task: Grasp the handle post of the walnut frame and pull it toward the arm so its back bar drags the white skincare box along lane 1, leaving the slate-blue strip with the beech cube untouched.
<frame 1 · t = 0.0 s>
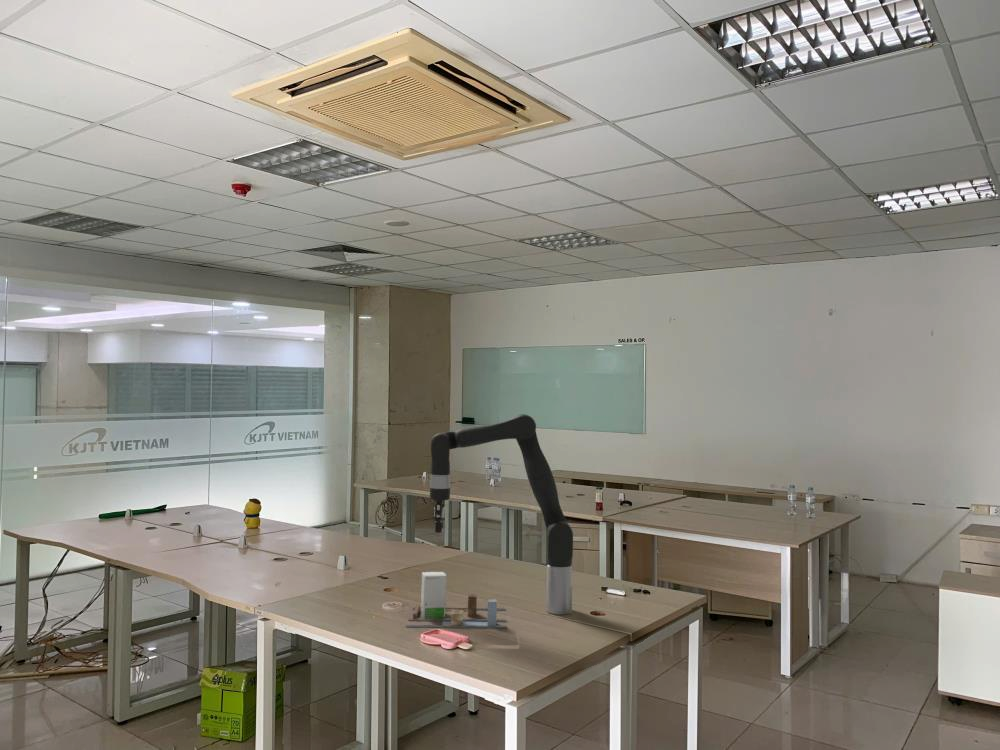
hand: (439, 530, 260), 29 cm above the table, fingers open, 8 cm apart
walnut frame: (445, 606, 250), point 4 cm above the table, slide at 0.0 cm
skincare box: (432, 618, 249), resting in walnut frame
guide rails: (457, 620, 246), on the table
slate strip: (469, 613, 240), point 4 cm above the table, slide at 0.0 cm, touching beech cube
beech cube: (456, 623, 239), point 1 cm above the table, touching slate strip
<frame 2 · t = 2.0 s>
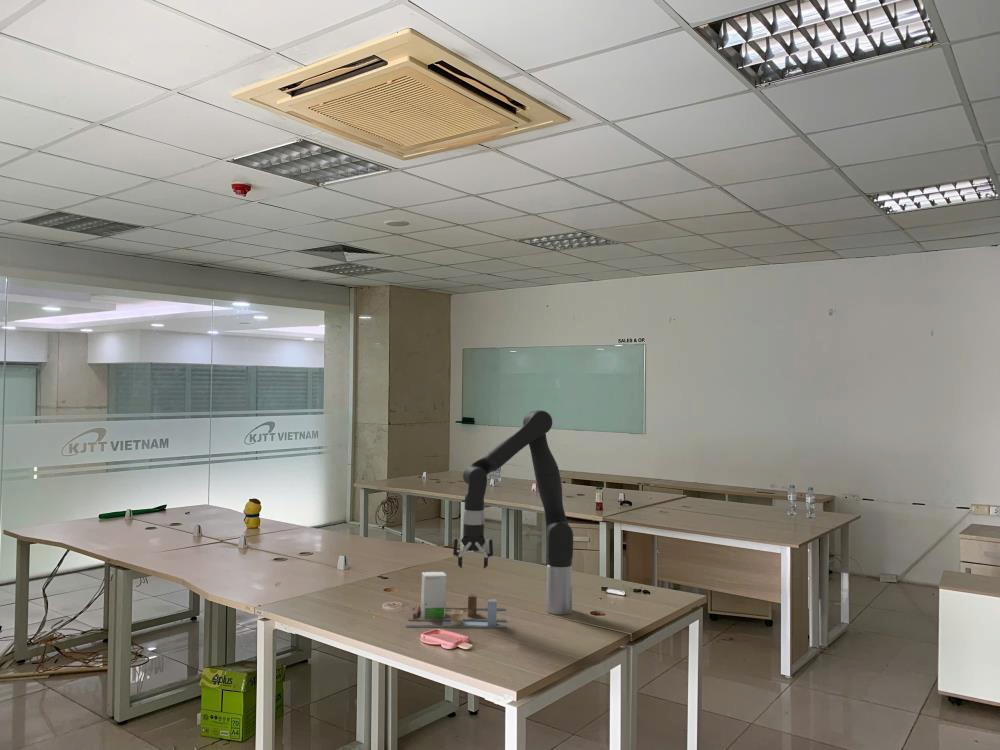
hand: (472, 567, 250), 18 cm above the table, fingers open, 8 cm apart
nothing on the table moved.
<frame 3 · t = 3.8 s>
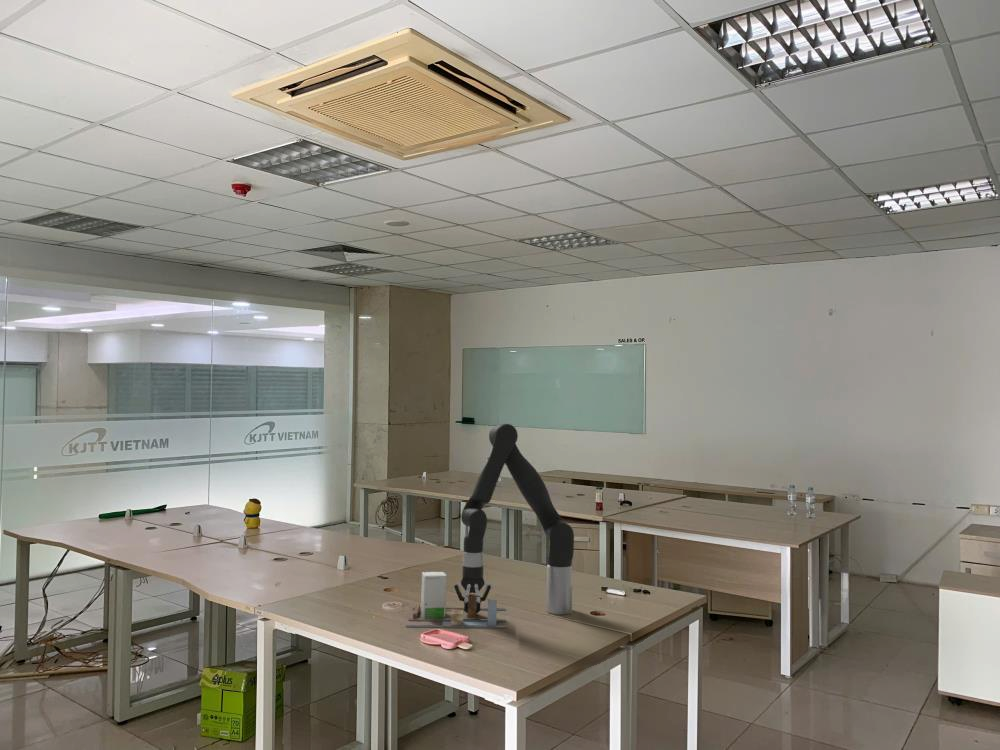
hand: (472, 612, 250), 2 cm above the table, fingers closed on walnut frame, 3 cm apart
walnut frame: (445, 606, 250), point 4 cm above the table, slide at 0.0 cm, touching gripper
everything else where it was.
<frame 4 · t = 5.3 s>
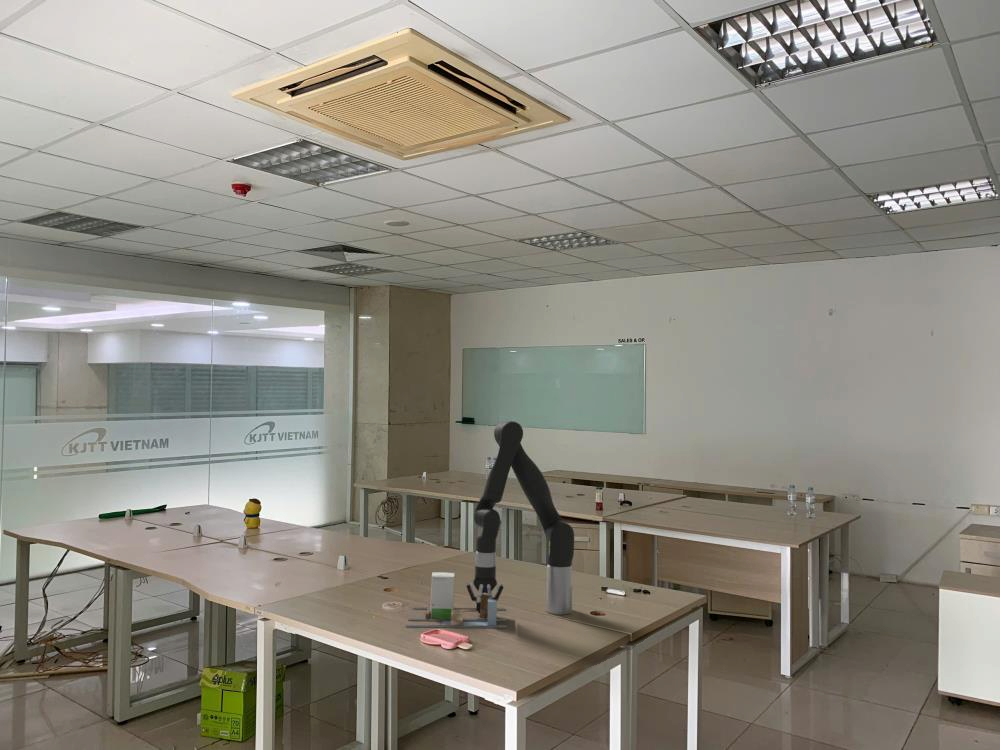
hand: (484, 612, 250), 2 cm above the table, fingers closed on walnut frame, 3 cm apart
walnut frame: (457, 606, 250), point 4 cm above the table, slide at 4.4 cm, touching gripper, skincare box
skincare box: (442, 618, 249), resting in walnut frame
everything else where it was.
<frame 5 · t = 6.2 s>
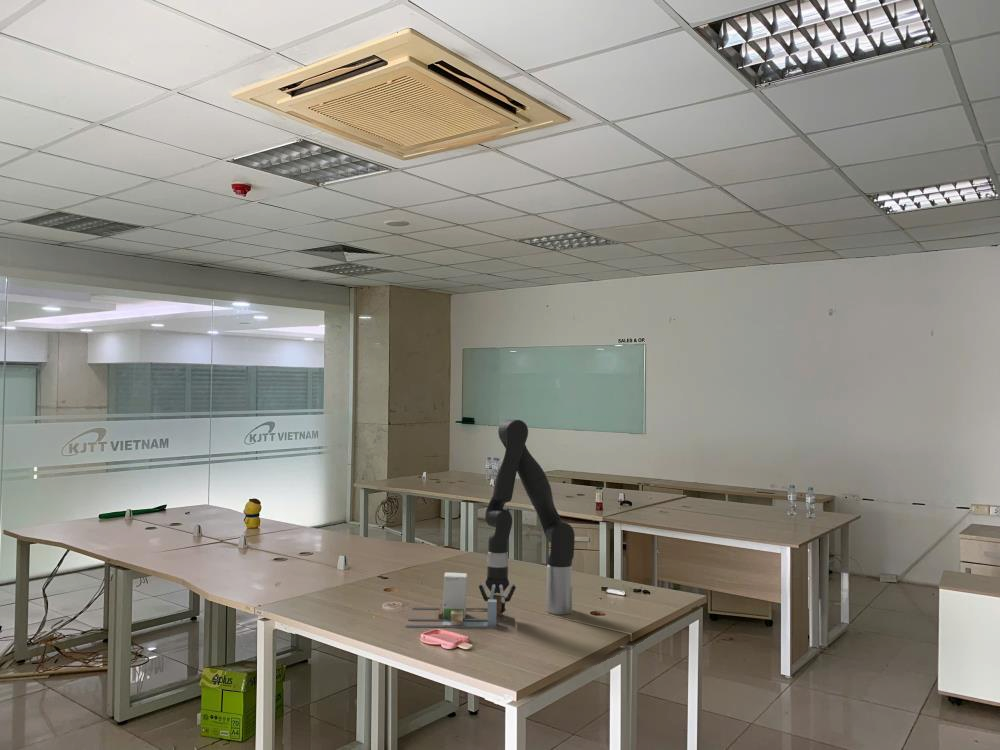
hand: (496, 612, 250), 2 cm above the table, fingers closed on walnut frame, 3 cm apart
walnut frame: (470, 606, 250), point 4 cm above the table, slide at 8.8 cm, touching gripper, skincare box
skincare box: (454, 619, 248), resting in walnut frame
everything else where it was.
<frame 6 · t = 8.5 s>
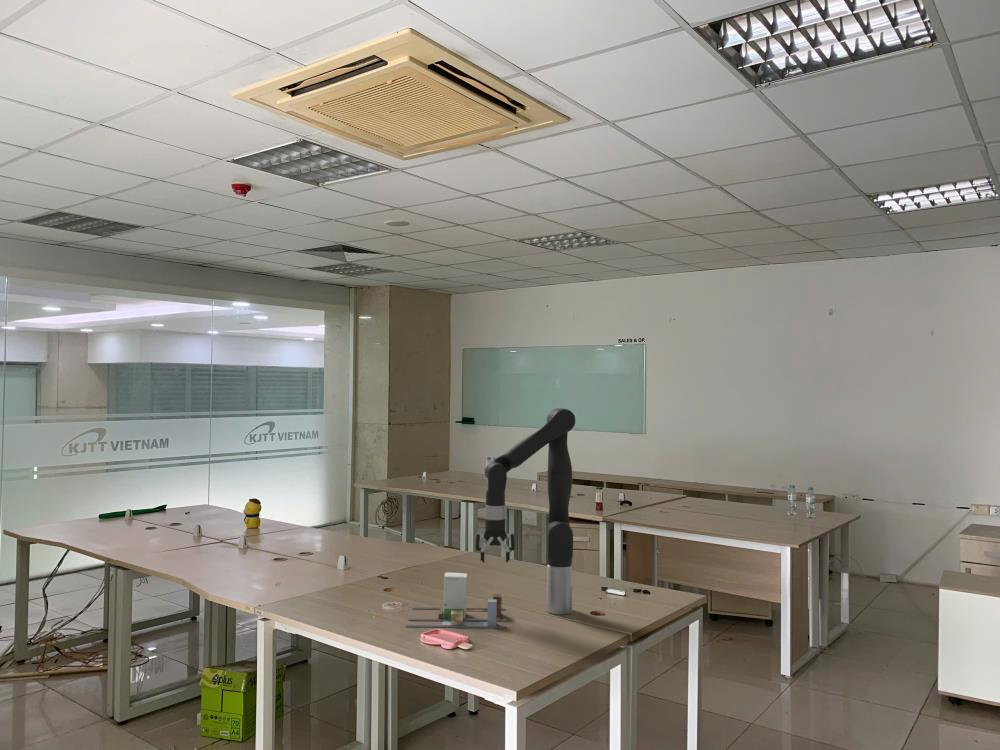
hand: (495, 562, 254), 19 cm above the table, fingers open, 8 cm apart
walnut frame: (470, 606, 250), point 4 cm above the table, slide at 8.9 cm
skincare box: (454, 619, 248), resting in walnut frame
everything else where it was.
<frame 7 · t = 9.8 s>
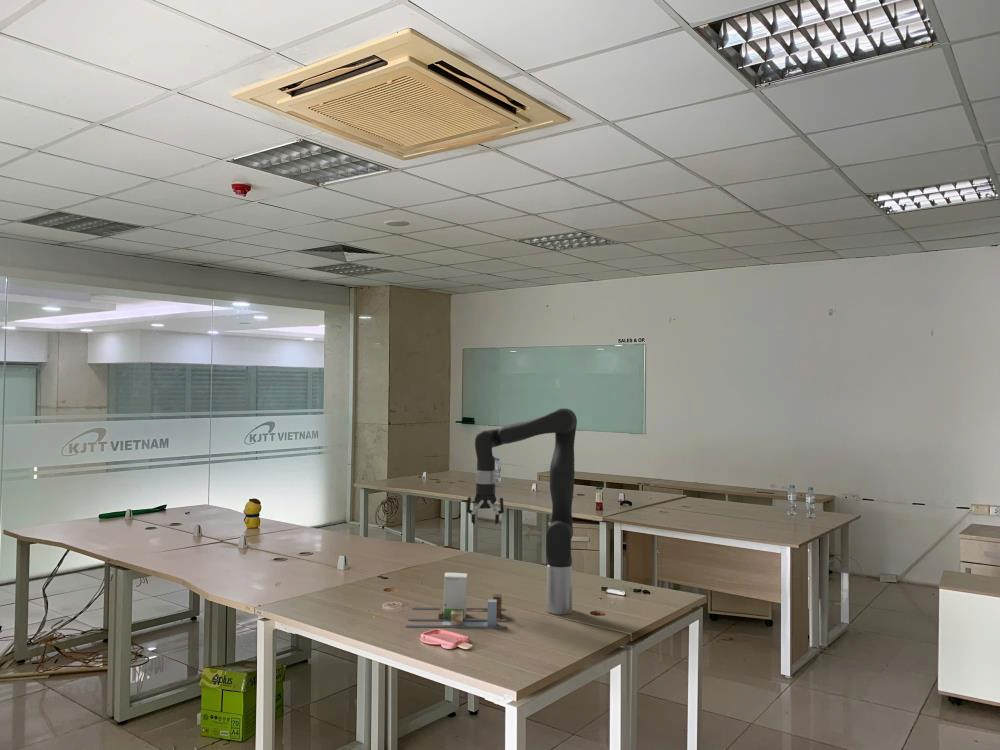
hand: (485, 524, 270), 30 cm above the table, fingers open, 8 cm apart
nothing on the table moved.
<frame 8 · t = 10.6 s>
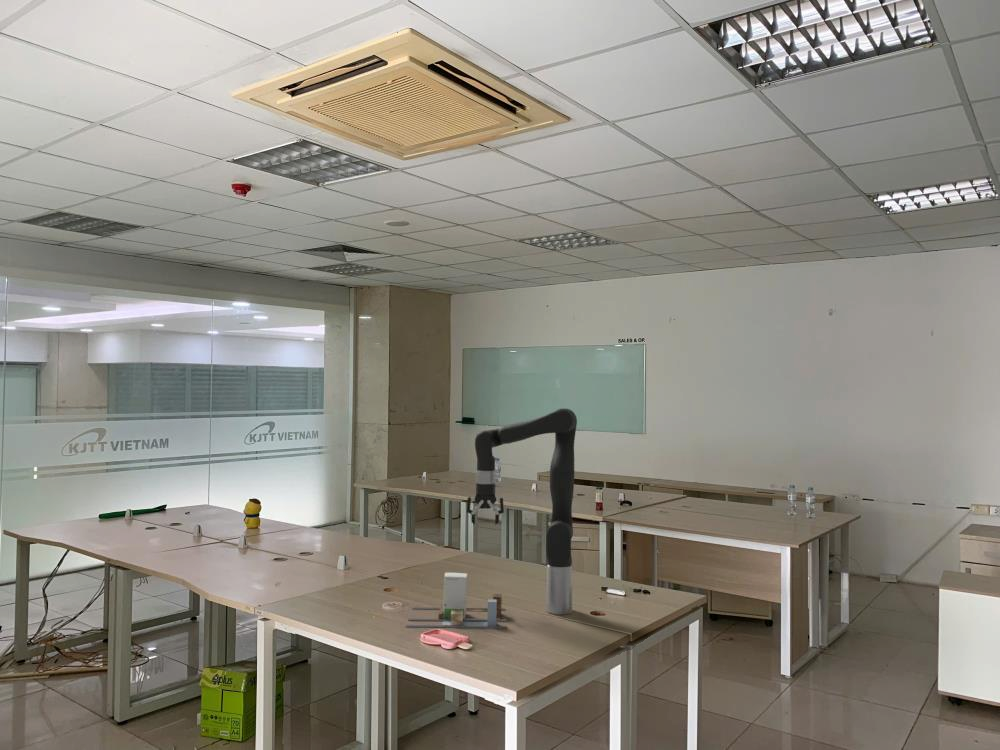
hand: (485, 524, 270), 30 cm above the table, fingers open, 8 cm apart
nothing on the table moved.
at the end: walnut frame slide at 8.9 cm; skincare box inside the target area (2.0 cm from its centre), resting in walnut frame; skincare box tilted 0° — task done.
